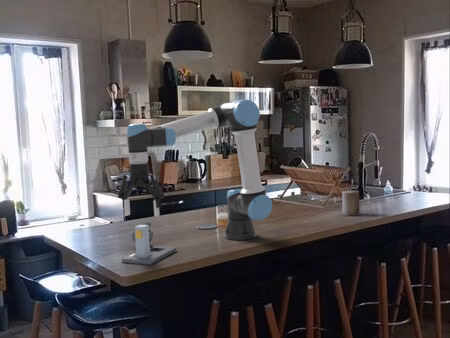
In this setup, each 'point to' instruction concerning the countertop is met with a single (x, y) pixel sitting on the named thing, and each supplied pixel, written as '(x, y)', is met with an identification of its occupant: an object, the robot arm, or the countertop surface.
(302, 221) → the countertop surface
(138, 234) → the plug
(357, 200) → the pillar candle
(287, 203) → the countertop surface
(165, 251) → the port panel
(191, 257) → the countertop surface
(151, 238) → the mortar and pestle
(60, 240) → the countertop surface
